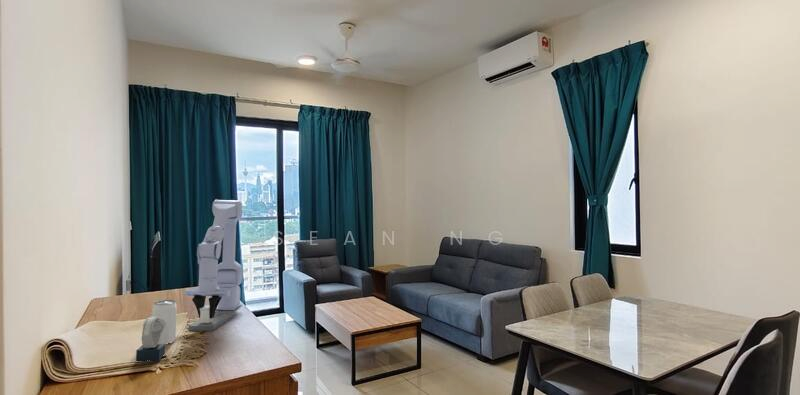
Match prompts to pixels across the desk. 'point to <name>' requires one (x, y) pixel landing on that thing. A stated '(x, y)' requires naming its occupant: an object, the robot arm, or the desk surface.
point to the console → (212, 322)
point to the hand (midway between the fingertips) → (206, 317)
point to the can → (166, 319)
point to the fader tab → (205, 314)
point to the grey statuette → (151, 340)
